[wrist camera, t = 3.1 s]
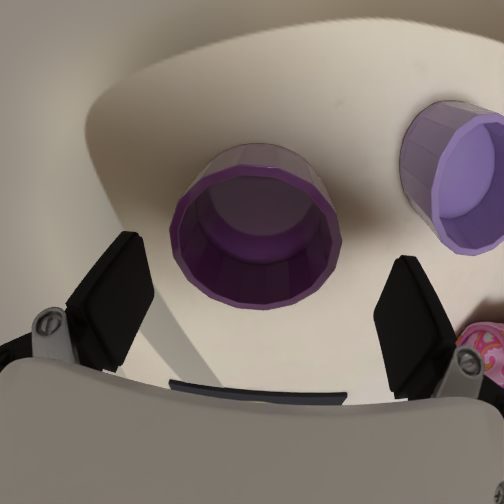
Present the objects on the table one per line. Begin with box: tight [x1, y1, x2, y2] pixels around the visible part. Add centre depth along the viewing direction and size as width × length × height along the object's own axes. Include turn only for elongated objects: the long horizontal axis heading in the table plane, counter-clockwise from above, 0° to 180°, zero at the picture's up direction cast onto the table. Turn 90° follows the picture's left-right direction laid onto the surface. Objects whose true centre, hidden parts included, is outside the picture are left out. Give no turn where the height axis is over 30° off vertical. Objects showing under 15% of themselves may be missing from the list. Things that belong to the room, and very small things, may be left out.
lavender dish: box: [400, 101, 504, 256], centre depth 10 cm, size 7×7×4 cm
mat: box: [169, 380, 347, 406], centre depth 30 cm, size 18×20×1 cm
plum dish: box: [169, 143, 342, 310], centre depth 12 cm, size 7×7×4 cm
